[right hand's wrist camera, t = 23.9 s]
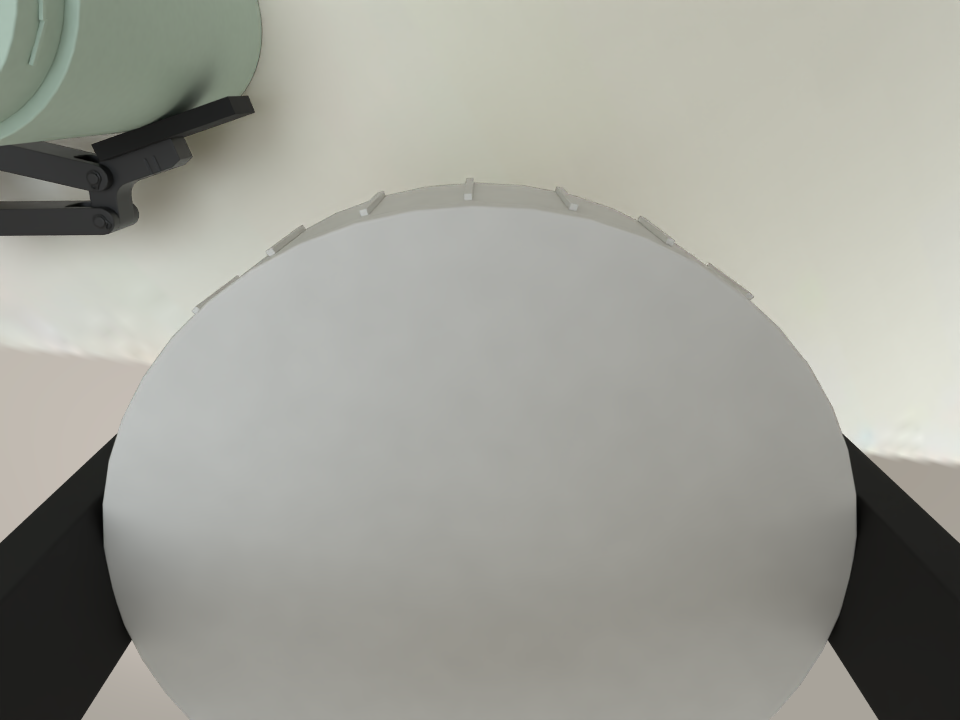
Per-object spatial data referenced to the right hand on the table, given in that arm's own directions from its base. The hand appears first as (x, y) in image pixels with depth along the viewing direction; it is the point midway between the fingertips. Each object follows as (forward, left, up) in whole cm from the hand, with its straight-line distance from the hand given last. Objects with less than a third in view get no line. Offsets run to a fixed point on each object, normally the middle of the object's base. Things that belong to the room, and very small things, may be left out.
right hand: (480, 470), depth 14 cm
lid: (0, 0, +3) cm, 3 cm away
